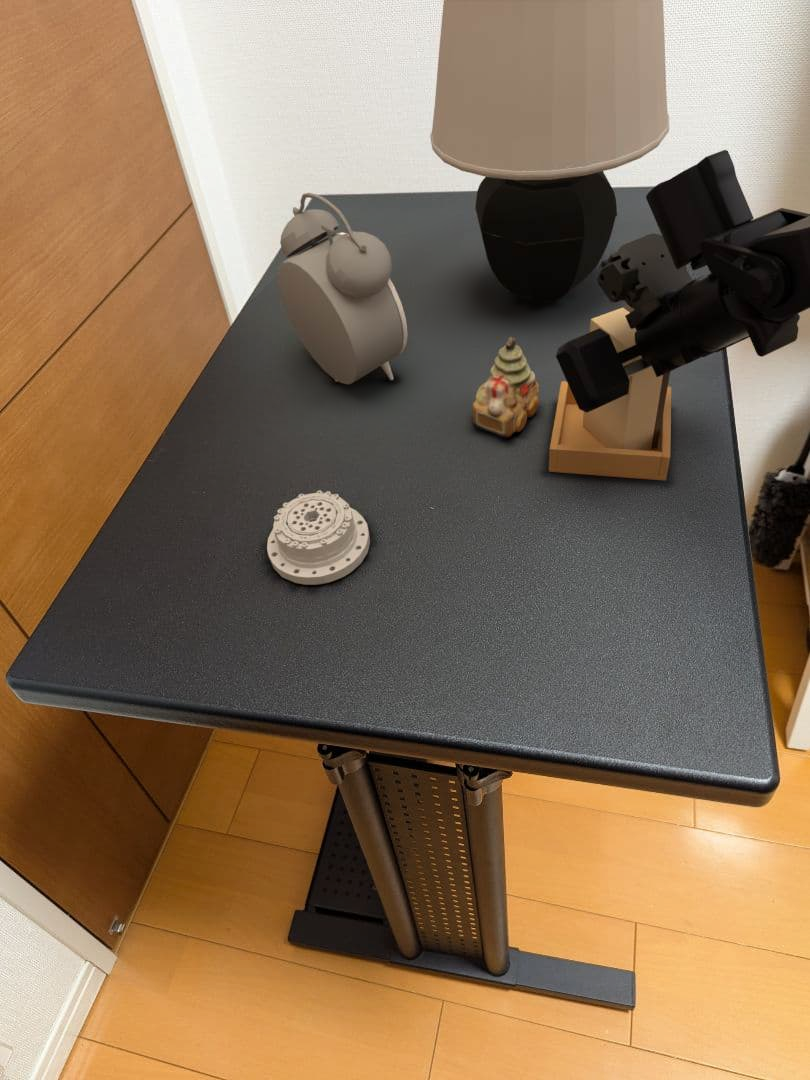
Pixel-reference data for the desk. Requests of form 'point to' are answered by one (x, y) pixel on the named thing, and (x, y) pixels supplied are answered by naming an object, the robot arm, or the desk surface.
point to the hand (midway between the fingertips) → (608, 367)
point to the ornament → (507, 393)
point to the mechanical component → (317, 539)
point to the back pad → (628, 396)
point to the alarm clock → (340, 294)
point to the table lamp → (548, 125)
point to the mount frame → (588, 456)
